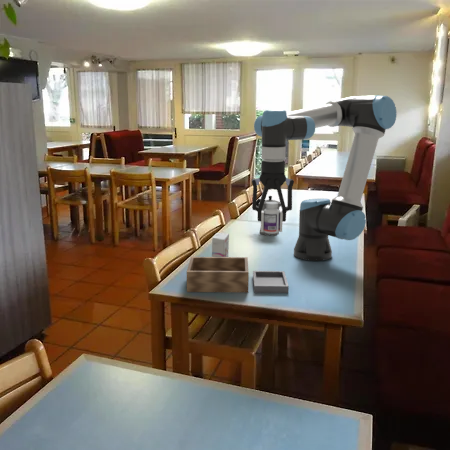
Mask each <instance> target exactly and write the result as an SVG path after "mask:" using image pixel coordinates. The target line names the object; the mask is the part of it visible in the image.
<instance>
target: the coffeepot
mask: <svg viewBox="0 0 450 450" xmlns="http://www.w3.org/2000/svg"><path fill="white" fill-rule="evenodd" d="M272 198H273V196H272V195H268V199H265V202H264V205H263V208H262V211H264V210H265V209H266V202H277V203H278V208H277V209H279V210H280V207H281V204H280V201H278V200H275V199H272ZM260 199H261V198H257V202H256V206H259V203H260ZM279 233H280V231H279V232H278V233H275V234H269V233H265V232H264V231H263V232H261V227H260V228H259V234H261V235H263V236H277V235H279Z"/></svg>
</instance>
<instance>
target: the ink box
mask: <svg viewBox="0 0 450 450" xmlns="http://www.w3.org/2000/svg"><path fill="white" fill-rule="evenodd" d="M229 237H230V234H229V233H226V232H225V233H223V232H216V233H215V234H214V235H213V236H212V238H211V257H229V248H230V247H229V246H230V245H229V244H230V243H229V242H230V238H229Z"/></svg>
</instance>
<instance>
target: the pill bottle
mask: <svg viewBox="0 0 450 450" xmlns="http://www.w3.org/2000/svg"><path fill="white" fill-rule="evenodd" d="M277 208H278V203H277V202H266V209H265V210H264V228H263V231H264V232H265V233H269V234H275V233H278V232H279V233H280V211H281V210H280V208H279V209H277ZM279 233H278V234H279Z"/></svg>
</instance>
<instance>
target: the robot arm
mask: <svg viewBox="0 0 450 450" xmlns="http://www.w3.org/2000/svg"><path fill="white" fill-rule="evenodd" d="M396 120H397V107H396V104H395V101H394V100H393V99H392V98H391V97H390V96H388V95H380V94H377V95H352V96H351V95H350V96H348V97H344V98H339V99H335V100H332V101H331V100H330V101H328V102H326V103H325V104H324V105H318V106H314V107H309V108H303V109H298V110H297V109H296V110H292V111H286V110H285V109H265V110H264V111H263V112H262V115H259V116H258V117H257V118H256V119H255V121H254V123H253V127H254V128H253V130H254V132H255V134H256V135H257V136H259V137H261V156H260V158H261V160H262V161H261V162H260V163H261V164H260V165H261V166H260V167H261V168H260V175H259V177H258V178H253V179H251V184H252V201H251V202H252V204H251V207H252V211H255V212H257V221H258V222H260V228H261V232H263V228H264V211H262V208H263V205H264V202H265V200H266V197H267V195H268V192H269V190H276V192H277V195H278V199H279V202H280V204H281V206H280V207H281V210H280V231H279V233H283V222H286V220H287V212H289V211H292V210H293V187H294V183H295V181H294V179H292V178H288V177H286V161H285V159H286V149H287V147H286V145H287V141H298V140H300V141H304V140H308V139H311V138H312V137H313V136H314V134H315V132H316V128H322V127H326V126H328V127H331V128H335V127H351V128H352V131H353V132H354V136H353V141H352V144H351V147H350V151H349V154H348V158H347V162H346V165H345V168H344V172H343V176H342V180H341V182H340V185H339V186H340V187H339V190H338V192H337V196H335V197H334V198H332V200H331V199H329V198H311V199H305V200H302V201H301V202H300V207H299V211H298V212H299V214H298V215H299V220H298V221H299V223H298V225H299V226H298V227H299V228H298V237H297V240H296V242H295V246H294V247H293V256H294V257H296V258H297V259H300V260H304V261H310V262H311V261H312V262H320V261H322V262H323V261H327V260H330V259H331V258H332V254H333V251H332V246H331V243H330V239H329V236H331V237H334V238H337V239H338V240H339V239H340V240H345V241H353V240H355V239H357V238H358V237H359V236H361V234H362V233H363V231H364V230H365V227H366V223H367V219H366V214H365V213H364V212H363V209H364V205H362V203H361V201H362V198H363V194H364V192H365V187H366V184H367V180H368V177H369V175H370V174H369V173H370V170H371V166H372V163H373V159H374V156H375V153H376V150H377V149H376V148H377V146H378V142H379V140H380V139H381V138H383V137H384V136H385V134H386V130H389V129H391V128H393V126H394V125H395V123H396ZM260 183H261V184H262V186H263V189H262V190H263V191H262V193H261V197H260V198H259V199H260V203H259V206H256V202H257V200H258V186H259V185H260ZM284 184H286V186H287V205H286V203H285V199H284V195H283V191H282V186H283V185H284Z"/></svg>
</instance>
